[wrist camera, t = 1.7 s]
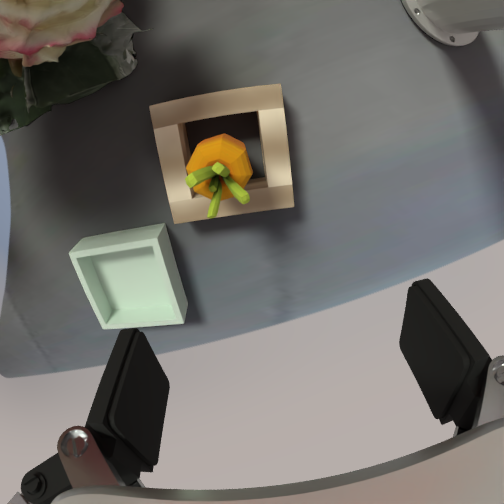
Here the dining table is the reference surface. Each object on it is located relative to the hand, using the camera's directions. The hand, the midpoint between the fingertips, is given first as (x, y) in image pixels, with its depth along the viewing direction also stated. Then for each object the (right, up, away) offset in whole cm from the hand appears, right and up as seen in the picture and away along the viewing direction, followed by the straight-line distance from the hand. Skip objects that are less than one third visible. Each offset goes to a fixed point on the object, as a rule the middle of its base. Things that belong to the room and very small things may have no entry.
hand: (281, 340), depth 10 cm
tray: (-16, +1, +27) cm, 32 cm away
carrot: (-4, +14, +21) cm, 25 cm away
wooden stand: (-4, +14, +21) cm, 25 cm away
